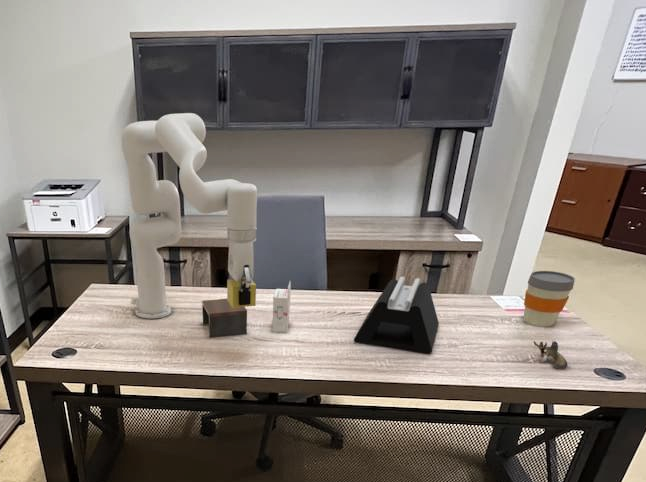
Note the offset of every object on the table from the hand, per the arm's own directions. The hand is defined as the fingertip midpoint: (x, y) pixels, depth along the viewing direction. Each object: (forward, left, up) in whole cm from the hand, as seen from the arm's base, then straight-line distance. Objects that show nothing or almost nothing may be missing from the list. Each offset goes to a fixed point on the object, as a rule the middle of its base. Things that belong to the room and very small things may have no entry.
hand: (241, 299), depth 148 cm
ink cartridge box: (+3, +24, -17) cm, 30 cm away
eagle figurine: (+80, +34, -17) cm, 89 cm away
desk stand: (-13, +15, -17) cm, 26 cm away
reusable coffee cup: (+77, +66, -17) cm, 103 cm away
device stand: (+38, +35, -17) cm, 54 cm away
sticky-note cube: (0, 0, -1) cm, 1 cm away
